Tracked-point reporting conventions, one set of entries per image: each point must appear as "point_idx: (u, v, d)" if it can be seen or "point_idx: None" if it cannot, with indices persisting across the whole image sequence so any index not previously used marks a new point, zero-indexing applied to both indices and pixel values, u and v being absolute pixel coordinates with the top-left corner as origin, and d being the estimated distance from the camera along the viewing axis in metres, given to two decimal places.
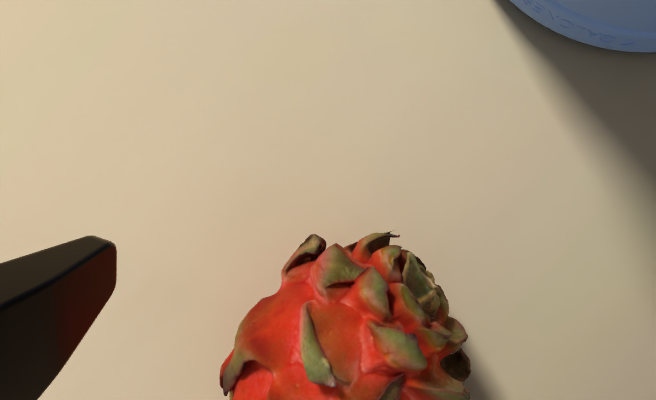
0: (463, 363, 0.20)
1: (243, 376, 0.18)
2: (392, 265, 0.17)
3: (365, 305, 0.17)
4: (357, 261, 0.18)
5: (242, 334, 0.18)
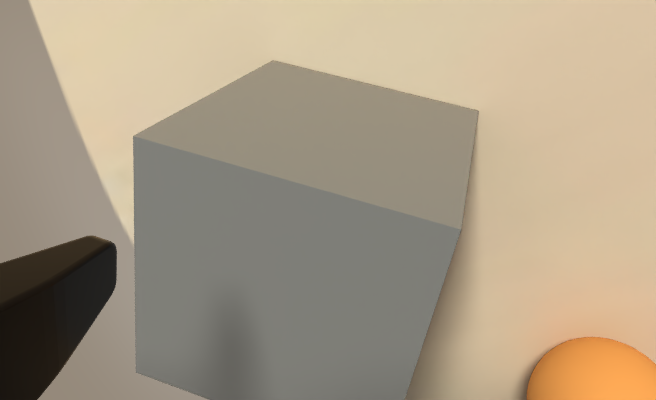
0: None
1: None
2: None
3: None
4: None
5: None
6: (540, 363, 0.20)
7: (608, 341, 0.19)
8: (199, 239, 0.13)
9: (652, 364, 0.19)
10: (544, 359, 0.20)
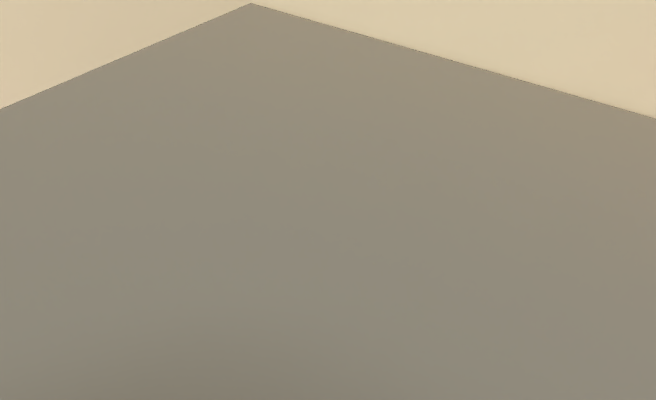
0: None
1: None
2: None
3: None
4: None
5: None
6: None
7: None
8: None
9: None
10: None
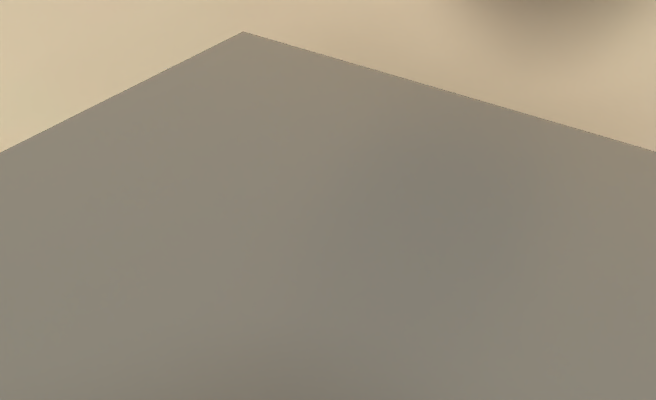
0: None
1: None
2: None
3: None
4: None
5: None
6: None
7: None
8: None
9: None
10: None
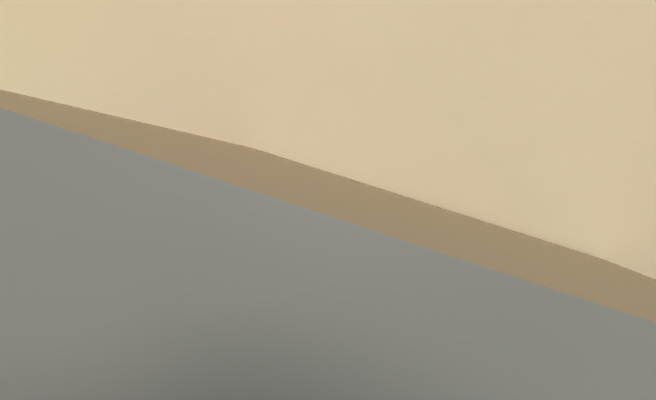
0: None
1: None
2: None
3: None
4: None
5: None
6: None
7: None
8: None
9: None
10: None
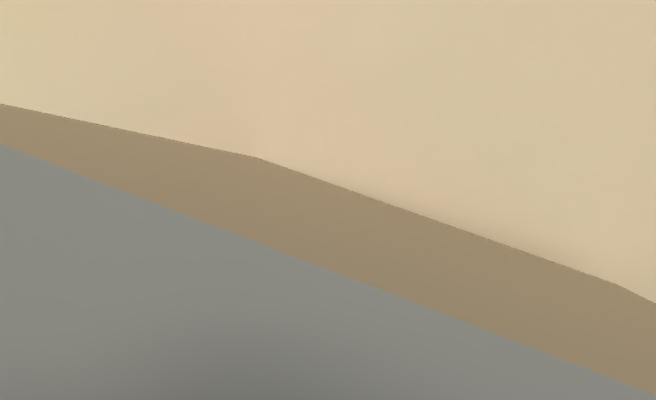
0: None
1: None
2: None
3: None
4: None
5: None
6: None
7: None
8: None
9: None
10: None
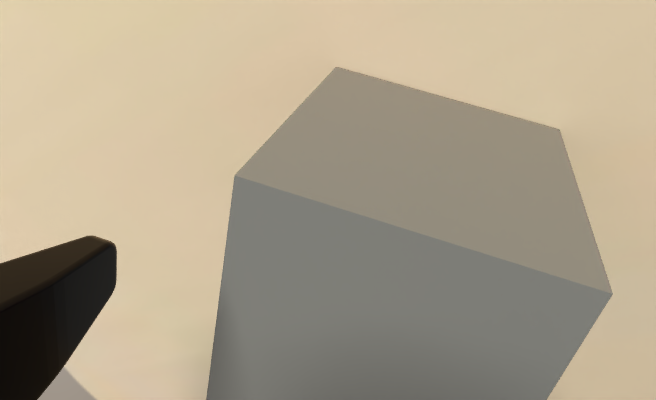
0: None
1: None
2: None
3: None
4: None
5: None
6: None
7: None
8: (299, 286, 0.12)
9: None
10: None
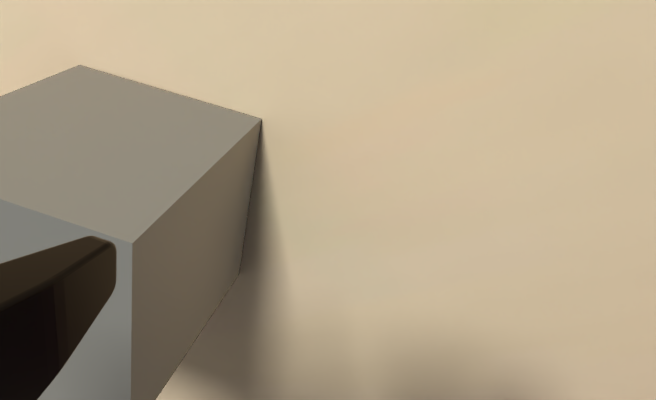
0: None
1: None
2: None
3: None
4: None
5: None
6: None
7: None
8: None
9: None
10: None
